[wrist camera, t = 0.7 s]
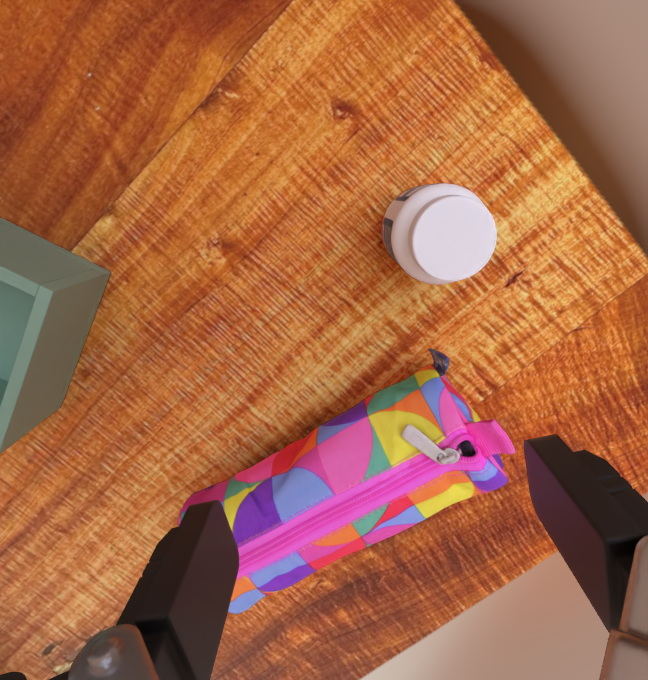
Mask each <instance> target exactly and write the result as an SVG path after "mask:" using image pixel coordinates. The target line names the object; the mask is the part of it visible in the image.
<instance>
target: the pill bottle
mask: <svg viewBox="0 0 648 680" xmlns="http://www.w3.org/2000/svg"><path fill="white" fill-rule="evenodd" d="M381 230H382V240H383V243H384V246H385V248H386V250H387V252H388V253H389V255H390V256H391V257H392V258H393V259H394V260H395V261H396V262H397V264H398V265H399V266H400V267H401V268H402V269H403V270H404V271H405V272H406V273H407V274H409V275H410V276H411V277H413V278H415V279H417V280H419V281H421V282H424V283H428V284H436V285H440V284H448V283H452V282H455V281H459V280H463V279H466V278H469V277H471V276H473V275H474V274H476V273H477V272H479V271H480V270H481V269H482V268H483V267H484V266H485V265H486V264H487V263H488V261H489V259H490V257H491V256H492V254H493V251H494V249H495V245H496V238H497V231H496V226H495V222H494V219H493V217H492V215H491V214H490V212H489V211H488V209H487V208H486V207H485V206H484V204H483V203H482V201H481V200H480V199H479V198H478V197H477V196H476V195H475V194H474V193H472V192H471V191H469V190H468V189H466V188H464V187H461V186H458V185H454V184H447V183H437V184H428V185H422V186H417V187H413V188H411V189H408V190H406V191H404V192H403V193H401V194H400V195H399V196H397V197H396V198H395V199H394V200H393V202H392V203H391V204H390V205H389V207H388V209H387V211H386V213H385V215H384V218H383V222H382V229H381Z"/></svg>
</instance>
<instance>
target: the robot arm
mask: <svg viewBox="0 0 648 680" xmlns="http://www.w3.org/2000/svg"><path fill="white" fill-rule="evenodd" d="M524 453H525V460H526V468H527V475H528V483H529V490H530V496H531V500H532V503H533V506H534V509H535V511H536V513H537V515H538V517H539V519H540V521H541V522H542V524H543V526H544V527H545V529H546V531H547V532H548V534H549V536H550V537H551V539H552V540H553V542H554V544H555V545H556V547H557V549H558V550H559V552H560V553H561V555H562V557H563V558H564V560H565V562H566V563H567V565H568V566H569V568H570V570H571V571H572V573H573V575H574V576H575V578H576V579H577V581H578V583H579V584H580V586H581V588H582V589H583V591H584V593H585V594H586V596H587V598H588V599H589V600H590V602H591V604H592V606H593V607H594V609H595V611H596V612H597V614H598V616H599V617H600V619H601V620H602V622H603V624H604V625H605V627H606V629H607V630H608V632H609V633H610V635H609V638H608V643H607V647H606V651H605V656H604V661H603V665H602V670H601V674H600V679H599V680H648V502H647V501H646V500H645V499H644V498H643V497H642V496H641V495H640V494H639V493H638V492H637V491H636V490H635V489H632V486H631V485H630V484H629V483H628V482H627V481H626V480H625V479H624V478H623V477H621V476H620V474H619V473H618V472H617V471H616V470H615V469H614V468H613V467H612V466H611V465H610V464H609V463H608V462H607V461H606V460H605V459H602V458H600V457H598V456H596V455H594V454H592V453H590V452H588V451H586V450H582V451H577V452H572V450H571V449H570V448H569V447H568V446H567V445H566V444H565V443H564V442H563V440H562V439H561V438H560V437H559V436H558V435H556V434H554V435H548V436H543V437H538V438H533V439H528V440H525V441H524ZM238 570H239V552H238V547H237V544H236V541H235V538H234V536H233V533H232V530H231V528H230V525H229V522H228V519H227V517H226V514H225V511H224V509H223V506H222V504H221V502H220V501H219V500H213V501H208V502H203V503H197V504H192V505H190V506H189V507H188V508H187V510H186V512H185V514H184V516H183V518H182V520H181V522H180V524H179V527H175V528H172V529H171V530H170V531H169V532H168V533H167V534H166V535H165V536H164V537H163V539H162V540H161V541H160V542H159V543H158V544H157V546H156V548H155V550H154V552H153V554H152V556H151V558H150V560H149V563H148V564H147V566H146V567H145V569H144V571H143V573H142V575H143V576H142V577H140V579H139V581H138V583H137V585H136V587H135V589H134V591H133V593H132V595H131V597H130V599H129V601H128V603H127V605H126V607H125V609H124V610H123V612H122V614H121V616H120V618H119V620H118V622H117V624H116V626H114V627H111V628H109V629H107V630H105V631H103V632H102V633H100V634H99V635H97V636H96V637H94V638H93V639H92V640H91V641H90V642H88V643H87V644H86V645H85V646H84V647H83V649H82V650H81V651H80V652H79V653H78V655H77V656H76V658H75V659H74V661H73V663H72V665H71V668H70V670H69V671H67V672H64V673H62V674H60V675H58V676H56V677H53V678H51V679H49V680H210V677H211V674H212V670H213V666H214V662H215V658H216V655H217V651H218V647H219V643H220V639H221V635H222V632H223V628H224V624H225V620H226V616H227V613H228V609H229V605H230V601H231V597H232V594H233V590H234V586H235V582H236V578H237V575H238ZM0 680H27V679H26V677H25V675H23V674H22V673H20V672H9V673H5V674H2V675H0Z"/></svg>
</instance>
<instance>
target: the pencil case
mask: <svg viewBox="0 0 648 680" xmlns="http://www.w3.org/2000/svg"><path fill="white" fill-rule="evenodd" d="M428 350H429V351H430V352H431V354H432V357H433V360H434V362H433V364H430V365H427V366H425V367H424V368H422V369H420V370H418V371H417V372H415V373H414V374H413V375H411V376H410V377H408V378H407V379H405V380H403V381H401V382H399V383H396V384H394V385H391V386H389V387H386V388H384V389H382V390H380V391H378V392H376V393H375V394H373V395H371V396H369V397H368V398H366V399H365V400H363V401H362V402H360V403H358V404H357V405H355V406H354V407H352V408H350V409H349V410H347V411H345V412H343V413H341V414H340V415H338V416H336V417H334V418H333V419H331V420H329V421H328V422H326V423H324V424H322V425H321V426H319V427H317V428H316V429H314V430H313V431H312V432H310V433H309V434H308V435H307V436H306V437H305V438H303V439H301V440H297V441H295V442H293V443H291V444H289V445H288V446H286V447H285V448H283V449H282V450H280V451H278V452H276V453H274V454H272V455H270V456H269V457H267V458H266V459H264V460H262V461H261V462H259V463H257V464H256V465H254V466H252V467H250V468H249V469H245V470H243V471H241V472H239V473H237V474H236V475H234V476H232V477H231V478H229V479H228V480H226V481H224V482H219V483H217V484H215V485H212V486H210V487H208V488H205V489H203V490H200V491H197V492H195V493H194V494H192V495H191V496H190V497H189V498H188V499H187V501H186V502H185V503H184V505H183V507H182V509H181V511H180V514H179V518H178V527H179V524H180V522H181V520H182V518H183V516H184V514H185V512H186V510H187V508H188V507H189V506H190V505H192V504H197V503H203V502H208V501H213V500H219V501H220V502H221V504H222V506H223V509H224V511H225V514H226V517H227V519H228V522H229V525H230V528H231V530H232V533H233V536H234V538H235V541H236V544H237V547H238V552H239V570H238V575H237V578H236V582H235V586H234V590H233V594H232V597H231V601H230V605H229V609H228V611H229V612H230V613H233V614H239V613H242V612H244V611H246V610H247V609H249V608H250V607H251V606H253V605H254V604H255V603H256V602H258V601H259V600H260V599H261V598H263V597H265V596H267V595H270V594H273V593H276V592H278V591H280V590H282V589H285V588H287V587H289V586H291V585H294V584H295V583H297V582H299V581H301V580H302V579H303V578H305V577H307V576H308V575H310V574H312V573H313V572H315V571H316V570H318V569H320V568H322V567H324V566H326V565H328V564H330V563H331V562H333V561H335V560H337V559H339V558H341V557H343V556H346V555H348V554H350V553H353V552H356V551H359V550H361V549H364V548H366V547H368V546H370V545H372V544H374V543H377V542H379V541H382V540H384V539H386V538H389V537H391V536H393V535H395V534H397V533H399V532H401V531H403V530H405V529H407V528H409V527H411V526H413V525H415V524H417V523H419V522H421V521H423V520H425V519H426V518H428V517H430V516H432V515H433V514H435V513H437V512H438V511H440V510H442V509H443V508H445V507H447V506H449V505H451V504H453V503H456V502H459V501H461V500H465V499H468V498H471V497H473V496H475V495H478V494H482V493H486V492H490V491H493V490H496V489H498V488H500V487H502V486H504V485H505V484H506V483H507V482H508V478H507V475H506V473H505V472H504V471H503V463H502V461H501V458H500V456H499V455H498V454H500V453H507V454H513V453H514V452H515V449H514V446H513V444H512V442H511V440H510V439H509V437H508V436H507V434H506V433H505V432H504V430H503V429H502V428H501V427H500V426H499V424H498V423H497V422H496V420H493V419H491V420H483V421H481V420H480V419H479V417H478V415H477V414H476V413H475V411H474V410H473V409H472V407H471V406H470V405H469V404H468V403H467V402H466V400H465V399H464V398H463V397H462V396H461V395H460V394H459V393H458V392H457V391H456V390H455V389H454V387H453V386H452V384H451V383H450V382H449V380H448V379H447V377H446V375H445V373H446V370H447V368H448V366H449V358H448V357H447V356H445V355H444V354H442V353H440V352H438V351H436V350H434V349H428Z"/></svg>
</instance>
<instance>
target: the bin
mask: <svg viewBox="0 0 648 680" xmlns="http://www.w3.org/2000/svg"><path fill="white" fill-rule="evenodd" d="M110 274H111V272H110V271H108V270H106V269H104V268H102V267H100V266H98V265H96V264H94V263H92V262H90V261H88V260H86V259H84V258H82V257H80V256H78V255H76V254H74V253H72V252H70V251H68V250H66V249H64V248H62V247H60V246H58V245H56V244H54V243H52V242H50V241H48V240H45V239H43V238H41V237H39V236H37V235H35V234H33V233H31V232H29V231H27V230H25V229H23V228H21V227H19V226H17V225H15V224H13V223H11V222H9V221H7V220H5V219H3V218H1V217H0V454H1V453H2V452H3V451H5V450H6V449H7V448H9V447H10V446H11V445H12V444H14V443H15V442H16V441H18V440H19V439H20V438H22V437H23V436H24V435H25V434H27V433H28V432H29V431H31V430H32V429H33V428H35V427H36V426H37V425H39V424H40V423H41V422H42V421H44V420H45V419H46V418H48V417H49V416H50V415H52V414H53V413H54V412H55V411H57V410H58V409H59V408H60V407H61V405H62V403H63V400H64V397H65V395H66V392H67V389H68V386H69V384H70V381H71V378H72V376H73V373H74V370H75V368H76V365H77V362H78V360H79V357H80V354H81V352H82V349H83V346H84V344H85V341H86V338H87V335H88V333H89V330H90V327H91V325H92V322H93V319H94V317H95V314H96V311H97V309H98V306H99V303H100V301H101V298H102V295H103V292H104V290H105V287H106V284H107V282H108V279H109V276H110Z"/></svg>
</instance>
